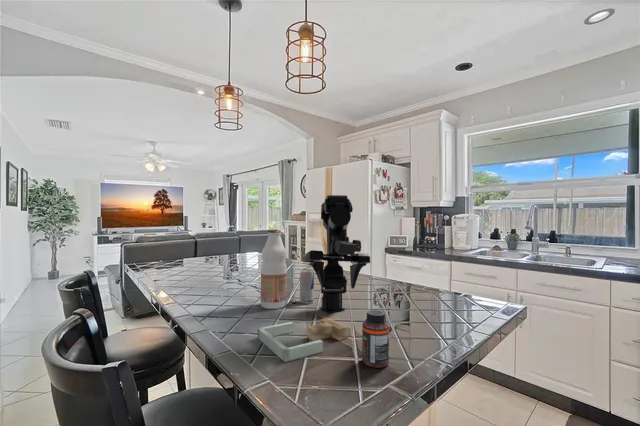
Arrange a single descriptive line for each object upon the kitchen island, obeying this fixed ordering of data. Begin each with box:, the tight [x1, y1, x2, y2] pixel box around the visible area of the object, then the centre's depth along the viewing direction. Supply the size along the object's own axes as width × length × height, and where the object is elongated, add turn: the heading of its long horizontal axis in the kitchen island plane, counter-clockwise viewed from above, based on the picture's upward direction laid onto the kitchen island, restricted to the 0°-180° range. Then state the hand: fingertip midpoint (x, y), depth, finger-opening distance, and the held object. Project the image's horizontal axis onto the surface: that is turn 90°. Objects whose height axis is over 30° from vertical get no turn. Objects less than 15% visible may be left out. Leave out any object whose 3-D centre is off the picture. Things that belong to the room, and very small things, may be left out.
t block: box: [307, 317, 349, 342], centre depth 84 cm, size 9×9×3 cm
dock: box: [257, 321, 324, 363], centre depth 78 cm, size 10×16×2 cm, turn 33°
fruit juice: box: [260, 229, 288, 310], centre depth 113 cm, size 9×9×28 cm
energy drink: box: [299, 269, 315, 305], centre depth 118 cm, size 5×5×12 cm
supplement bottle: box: [361, 309, 390, 369], centre depth 69 cm, size 6×6×11 cm
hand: (338, 288), depth 88 cm, fingers open, 9 cm apart
